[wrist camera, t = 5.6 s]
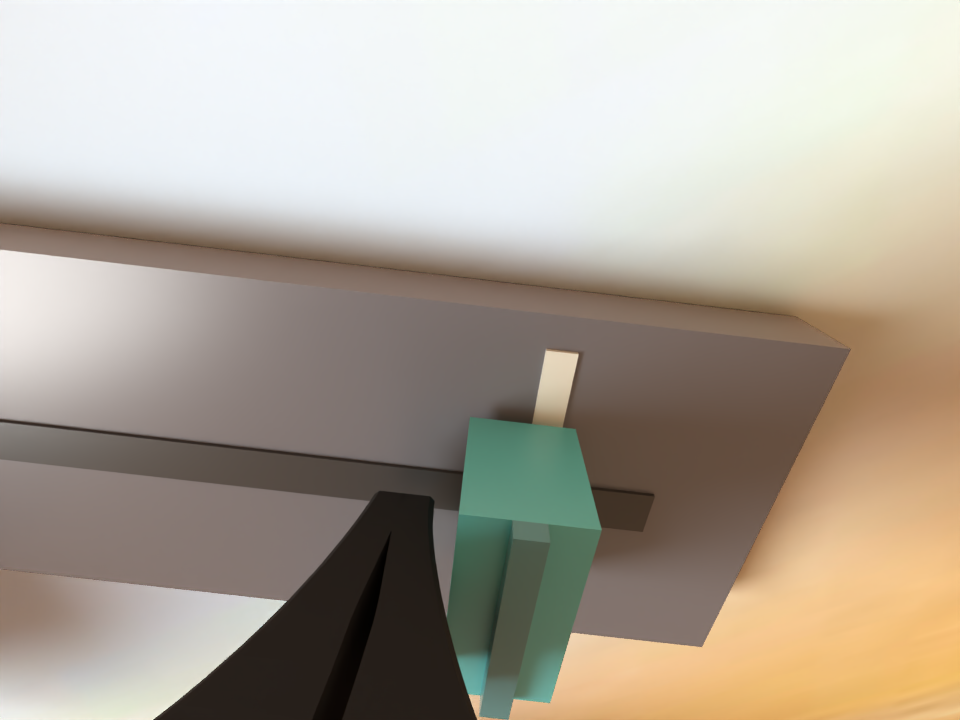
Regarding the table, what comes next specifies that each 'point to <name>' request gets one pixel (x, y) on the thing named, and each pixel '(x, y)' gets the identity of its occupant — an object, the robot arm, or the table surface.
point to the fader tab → (519, 559)
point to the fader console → (375, 418)
